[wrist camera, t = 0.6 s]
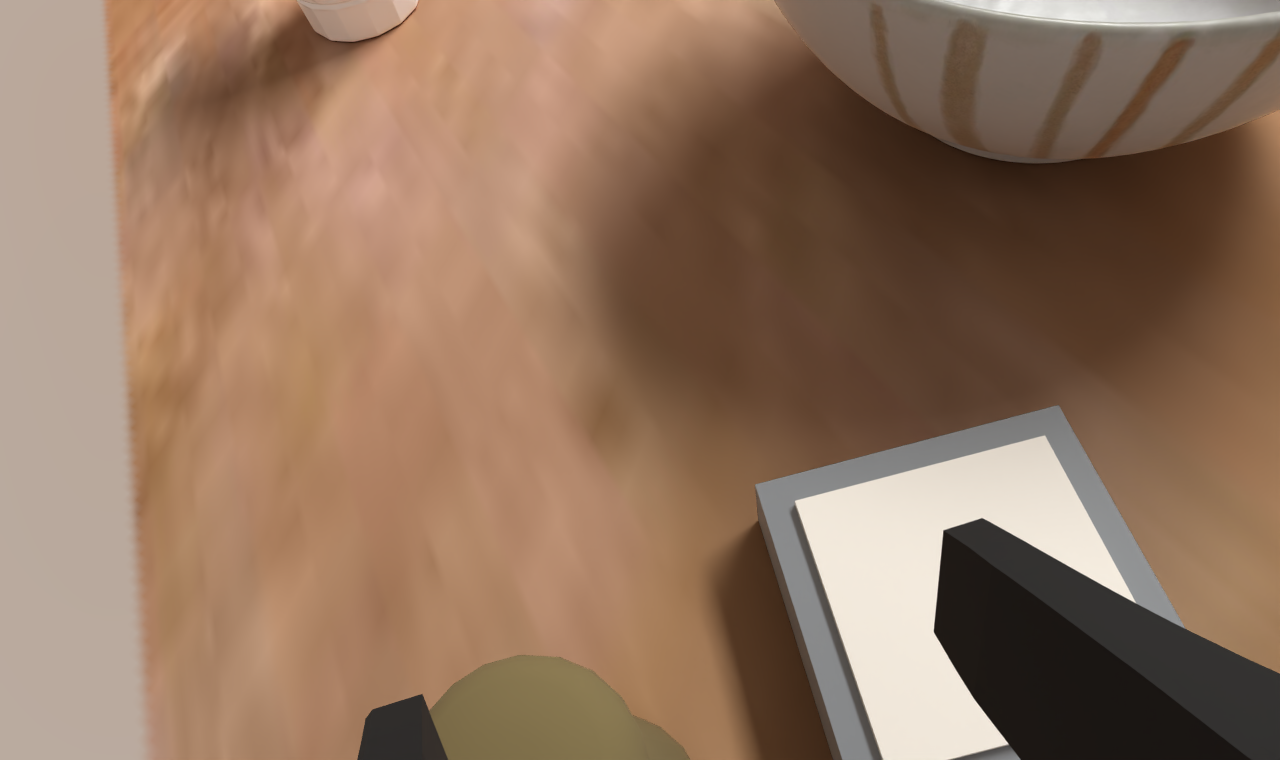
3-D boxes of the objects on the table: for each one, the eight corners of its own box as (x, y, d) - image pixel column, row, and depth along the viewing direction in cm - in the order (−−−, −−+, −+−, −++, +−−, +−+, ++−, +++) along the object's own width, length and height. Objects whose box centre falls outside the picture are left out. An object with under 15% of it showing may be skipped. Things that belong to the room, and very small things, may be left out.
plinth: (1196, 747, 24) (1248, 728, 21) (856, 834, 24) (864, 826, 22) (1035, 446, 30) (1061, 400, 27) (758, 519, 30) (754, 480, 27)
